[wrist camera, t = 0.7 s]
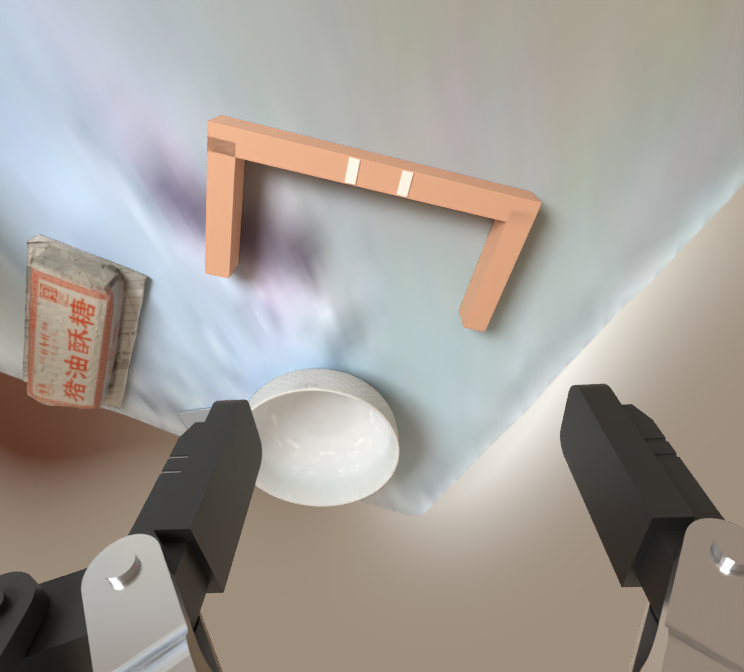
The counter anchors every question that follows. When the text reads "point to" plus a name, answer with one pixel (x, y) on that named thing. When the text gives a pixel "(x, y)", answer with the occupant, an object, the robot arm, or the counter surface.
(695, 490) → the robot arm
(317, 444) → the cereal bowl
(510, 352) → the counter surface
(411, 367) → the counter surface
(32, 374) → the packaged product
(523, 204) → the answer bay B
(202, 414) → the tile
